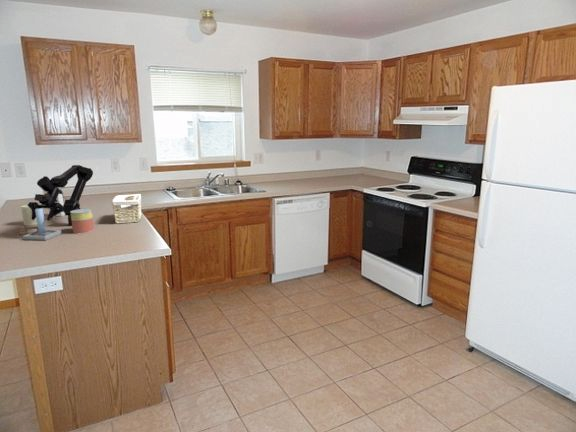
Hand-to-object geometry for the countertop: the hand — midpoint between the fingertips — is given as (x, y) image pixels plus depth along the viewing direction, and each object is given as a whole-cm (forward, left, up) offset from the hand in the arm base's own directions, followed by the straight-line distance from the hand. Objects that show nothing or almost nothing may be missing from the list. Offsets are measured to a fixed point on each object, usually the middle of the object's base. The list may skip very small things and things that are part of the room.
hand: (39, 219), depth 218 cm
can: (+28, -27, -10) cm, 40 cm away
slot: (+15, -11, -10) cm, 21 cm away
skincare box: (+27, -49, -10) cm, 57 cm away
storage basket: (-28, -44, -10) cm, 53 cm away
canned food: (-15, -14, -10) cm, 23 cm away
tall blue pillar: (0, 0, -9) cm, 9 cm away
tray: (0, 0, -10) cm, 10 cm away
